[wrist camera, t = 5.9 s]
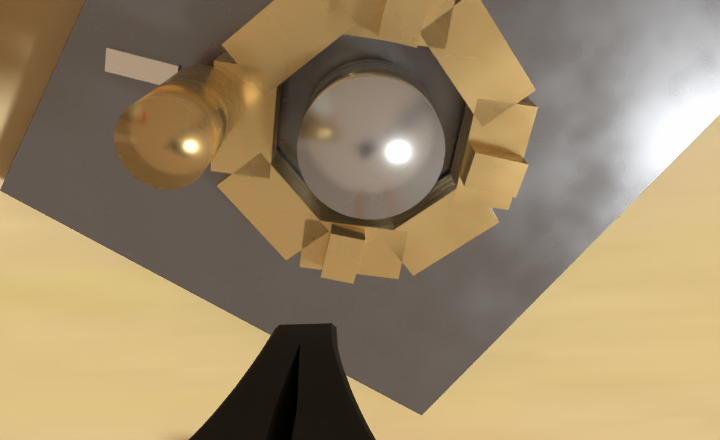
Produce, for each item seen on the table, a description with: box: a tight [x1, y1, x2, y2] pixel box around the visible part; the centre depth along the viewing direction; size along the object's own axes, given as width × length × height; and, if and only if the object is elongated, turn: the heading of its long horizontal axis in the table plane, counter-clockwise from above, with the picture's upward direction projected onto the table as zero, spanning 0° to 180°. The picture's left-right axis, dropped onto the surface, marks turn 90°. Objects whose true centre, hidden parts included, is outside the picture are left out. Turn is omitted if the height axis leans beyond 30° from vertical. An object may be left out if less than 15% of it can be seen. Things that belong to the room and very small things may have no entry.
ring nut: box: [114, 0, 538, 284], centre depth 17 cm, size 11×10×6 cm
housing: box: [0, 0, 720, 415], centre depth 19 cm, size 20×20×4 cm
